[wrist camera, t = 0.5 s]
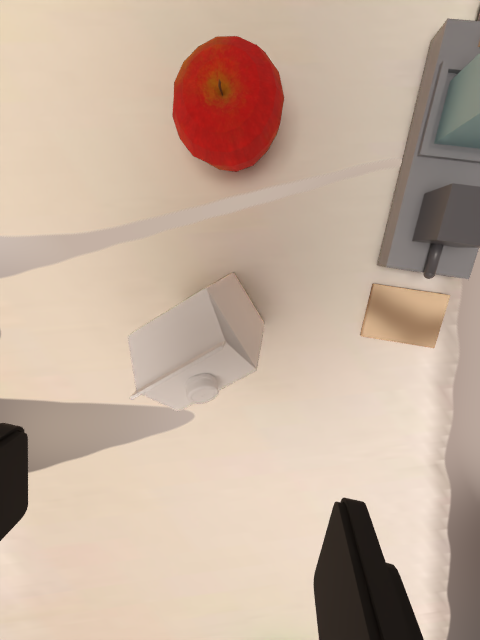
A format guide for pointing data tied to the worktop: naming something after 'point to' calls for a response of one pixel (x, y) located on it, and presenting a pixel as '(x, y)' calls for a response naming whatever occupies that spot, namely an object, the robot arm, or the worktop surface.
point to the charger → (462, 109)
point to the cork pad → (404, 315)
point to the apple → (228, 103)
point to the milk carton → (197, 346)
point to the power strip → (437, 173)
